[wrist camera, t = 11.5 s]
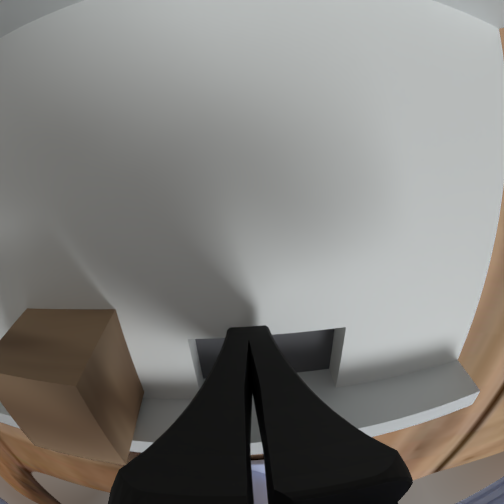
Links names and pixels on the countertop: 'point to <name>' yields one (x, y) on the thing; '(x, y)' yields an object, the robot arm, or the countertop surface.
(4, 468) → the countertop surface
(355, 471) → the robot arm
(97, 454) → the walnut block
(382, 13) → the tray
